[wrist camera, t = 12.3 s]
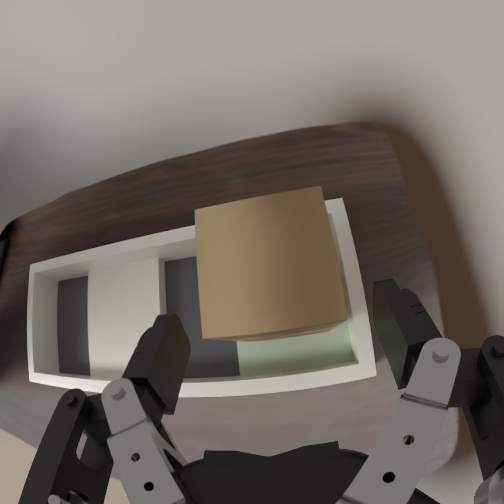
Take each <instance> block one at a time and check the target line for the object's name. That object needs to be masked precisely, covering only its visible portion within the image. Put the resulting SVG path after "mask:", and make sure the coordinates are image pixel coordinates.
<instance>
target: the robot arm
mask: <svg viewBox="0 0 504 504" xmlns="http://www.w3.org/2000/svg"><path fill="white" fill-rule="evenodd" d="M373 319H374V324H375V328H376V330H377V333H378V335H379V338H380V340H381V343H382V345H383V348H384V351H385V353H386V356H387V359H388V361H389V364H390V367H391V370H392V372H393V375H394V378H395V381H396V384H397V386H398V389H399V390H400V389H403V388H406V390H405V392H404V394H403V395H401V397H400V399H399V401H398V403H397V405H396V407H395V409H394V411H393V413H392V415H391V417H390V419H389V421H388V423H387V425H386V427H385V428H384V430H383V432H382V434H381V436H380V438H379V439H378V441H377V443H376V445H375V446H374V448H373V450H372V452H371V453H370V455H367V454H364V453H361V452H358V451H354V450H348V449H339V446H338V441H335V442H329V443H323V444H316V445H308V446H303V447H300V448H297V449H294V450H291V451H287V452H284V453H281V454H278V455H274V456H269V457H267V456H260V455H255V454H249V453H244V452H239V451H209V450H205V452H204V458H203V459H200V460H196V461H193V462H191V463H187V461H186V460H185V459H184V458H183V456H182V455H181V453H180V452H179V450H178V448H177V446H176V445H175V443H174V441H173V439H172V438H171V436H170V434H169V432H168V430H167V429H166V427H165V425H164V423H163V422H162V420H161V419H162V416H163V414H167V415H174V411H175V407H176V403H177V400H178V396H179V392H180V389H181V385H182V382H183V378H184V374H185V371H186V367H187V364H188V360H189V357H190V353H191V345H190V341H189V338H188V336H187V334H186V332H185V330H184V328H183V326H182V323H181V321H180V319H179V317H178V315H177V314H176V313H171V314H162V315H158V316H157V317H156V319H155V322H154V324H153V326H152V327H149V328H148V329H147V330H146V331H145V332H144V333H143V334H142V335H141V337H140V339H139V341H138V343H137V346H136V348H135V350H134V354H132V356H131V358H130V360H129V362H128V365H127V367H126V369H125V371H124V373H123V375H122V378H120V379H116V380H113V381H111V382H110V383H109V384H107V385H106V387H105V388H104V389H103V391H102V393H101V394H97V395H92V396H87V395H86V394H85V393H84V392H83V391H82V390H81V389H78V388H75V389H71V390H69V391H67V392H66V393H65V394H64V395H63V396H62V397H61V399H60V401H59V403H58V405H57V407H56V409H55V411H54V413H53V415H52V418H51V420H50V422H49V424H48V427H47V429H46V431H45V433H44V436H43V438H42V440H41V443H40V445H39V448H38V450H37V453H36V455H35V458H34V460H33V463H32V466H31V468H30V471H29V474H28V477H27V479H26V482H25V485H24V488H23V491H22V494H21V497H20V500H19V503H18V504H103V503H104V499H105V495H106V491H107V486H108V483H109V479H110V475H111V471H112V467H113V463H114V464H115V466H116V469H117V472H118V475H119V477H120V480H121V482H122V485H123V487H124V490H125V492H126V494H127V497H128V499H129V501H130V504H440V503H438V502H436V501H435V500H434V499H432V498H430V497H429V496H428V495H426V494H424V493H423V492H421V491H420V490H418V489H417V488H415V487H416V485H417V484H418V482H419V480H420V478H421V476H422V473H423V471H424V469H425V467H426V465H427V463H428V460H429V458H430V456H431V454H432V451H433V449H434V446H435V444H436V442H437V439H438V436H439V434H440V431H441V428H442V426H443V423H444V420H445V417H446V414H447V411H448V408H449V407H462V408H463V412H464V414H465V417H466V420H467V423H468V426H469V429H470V433H471V436H472V439H473V442H474V446H475V449H476V453H477V456H478V460H479V464H480V468H481V472H482V476H483V480H484V482H483V483H482V484H481V485H480V486H479V487H478V489H477V491H476V493H475V497H474V504H504V337H503V336H499V335H495V336H491V337H488V338H487V339H486V340H485V341H484V343H483V345H482V347H481V348H470V349H461V348H459V347H458V346H457V344H456V343H454V342H453V341H452V340H449V339H446V338H443V337H442V336H441V334H440V332H439V331H438V329H437V327H436V326H435V324H434V322H433V321H432V319H431V317H430V316H429V314H428V313H427V312H426V309H425V308H424V306H423V305H422V303H421V302H420V300H419V298H418V297H417V295H416V294H414V293H413V292H411V291H410V290H408V289H407V288H406V289H401V290H400V289H399V287H398V286H397V284H396V283H395V281H394V280H393V279H387V280H382V281H377V282H374V286H373ZM82 433H83V434H84V435H86V436H87V437H88V438H87V440H86V443H85V446H84V449H83V452H82V455H81V458H80V460H79V459H78V457H77V454H76V449H77V446H78V443H79V441H80V438H81V435H82Z"/></svg>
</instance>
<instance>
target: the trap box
mask: <svg viewBox="0 0 504 504" xmlns="http://www.w3.org/2000/svg"><path fill="white" fill-rule="evenodd" d="M325 205H326V209H327V213H328V217H329V222H330V226H331V231H332V235H333V240H334V245H335V249H336V254H337V259H338V264H339V269H340V275H341V280H342V285H343V291H344V297H345V303H346V309H347V315H348V319H347V320H346V321H344V322H343V323H341V324H339V325H338V326H336V327H335V328H333V329H332V330H330V331H328V332H322V333H316V334H310V335H304V336H297V337H290V338H283V339H276V340H268V341H260V342H250V341H229V340H213V339H203V338H202V326H201V314H200V302H199V288H198V272H197V254H196V233H195V225H193V226H188V227H183V228H179V229H174V230H169V231H165V232H160V233H156V234H151V235H147V236H143V237H138V238H134V239H130V240H125V241H121V242H117V243H113V244H108V245H104V246H100V247H96V248H92V249H88V250H84V251H80V252H76V253H72V254H68V255H65V256H61V257H57V258H53V259H49V260H46V261H42V262H38V263H35V264H31V265H30V274H29V286H28V304H27V349H28V367H29V379H30V381H31V382H36V383H41V384H46V385H52V386H57V387H63V388H70V389H75V388H78V389H81V390H83V391H91V392H100V393H102V391H103V389H104V388H105V387H106V385H107V384H109V383H110V382H111V381H113V380H116V379H120V378H122V375H123V373H124V371H125V369H126V367H127V365H128V362H129V360H130V358H131V356H132V354H134V350H135V348H136V346H137V343H138V341H139V339H140V337H141V335H142V334H143V333H144V332H145V331H146V330H147V329H148V328H149V327H152V326H153V324H154V322H155V319H156V317H157V316H158V315H162V314H171V313H176V314H177V315H178V317H179V319H180V321H181V323H182V326H183V328H184V330H185V332H186V334H187V336H188V338H189V341H190V345H191V353H190V357H189V360H188V364H187V367H186V371H185V374H184V378H183V382H182V385H181V389H180V392H179V396H178V397H220V396H240V395H254V394H265V393H275V392H285V391H293V390H301V389H308V388H314V387H321V386H327V385H333V384H339V383H344V382H349V381H354V380H359V379H364V378H368V377H373V376H376V367H375V359H374V351H373V344H372V337H371V330H370V324H369V317H368V311H367V306H366V300H365V295H364V289H363V284H362V279H361V274H360V269H359V265H358V260H357V255H356V251H355V247H354V242H353V238H352V234H351V230H350V226H349V222H348V218H347V214H346V210H345V206H344V203H343V199H342V198H339V199H332V200H326V201H325Z"/></svg>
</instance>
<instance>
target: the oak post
mask: <svg viewBox="0 0 504 504" xmlns="http://www.w3.org/2000/svg"><path fill="white" fill-rule="evenodd" d="M195 233H196V254H197V272H198V288H199V302H200V314H201V326H202V338H203V339H213V340H229V341H250V342H260V341H268V340H276V339H283V338H290V337H297V336H304V335H310V334H316V333H322V332H328V331H330V330H332V329H333V328H335V327H336V326H338V325H339V324H341V323H343V322H344V321H346V320H347V319H348V315H347V309H346V303H345V297H344V291H343V285H342V280H341V275H340V269H339V264H338V259H337V254H336V249H335V245H334V240H333V235H332V231H331V226H330V222H329V217H328V213H327V209H326V205H325V201H324V197H323V193H322V189H321V186H316V187H310V188H304V189H298V190H292V191H287V192H281V193H276V194H270V195H265V196H259V197H254V198H249V199H244V200H239V201H234V202H229V203H224V204H219V205H215V206H210V207H205V208H201V209H196V210H195Z"/></svg>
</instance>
